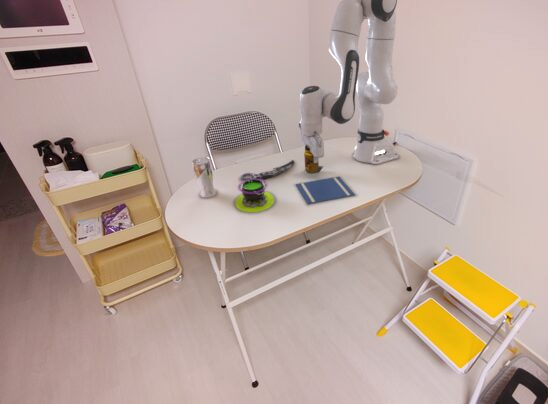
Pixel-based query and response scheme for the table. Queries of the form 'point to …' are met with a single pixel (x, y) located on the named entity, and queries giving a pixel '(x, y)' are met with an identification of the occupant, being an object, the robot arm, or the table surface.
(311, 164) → the condiment
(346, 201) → the table surface
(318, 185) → the blue board
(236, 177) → the table surface
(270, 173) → the knife
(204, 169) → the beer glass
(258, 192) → the toy cauldron
